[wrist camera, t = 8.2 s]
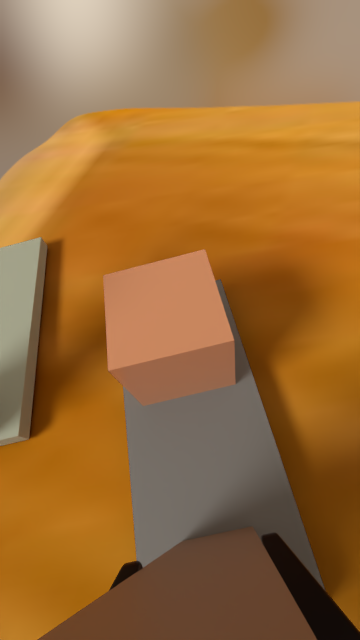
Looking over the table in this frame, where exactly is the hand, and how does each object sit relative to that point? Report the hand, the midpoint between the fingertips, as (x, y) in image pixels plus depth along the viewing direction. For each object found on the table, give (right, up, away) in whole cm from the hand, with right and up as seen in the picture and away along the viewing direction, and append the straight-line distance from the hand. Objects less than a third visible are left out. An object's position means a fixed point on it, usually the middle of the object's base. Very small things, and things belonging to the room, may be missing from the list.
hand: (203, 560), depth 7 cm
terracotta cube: (-1, +4, +10) cm, 10 cm away
